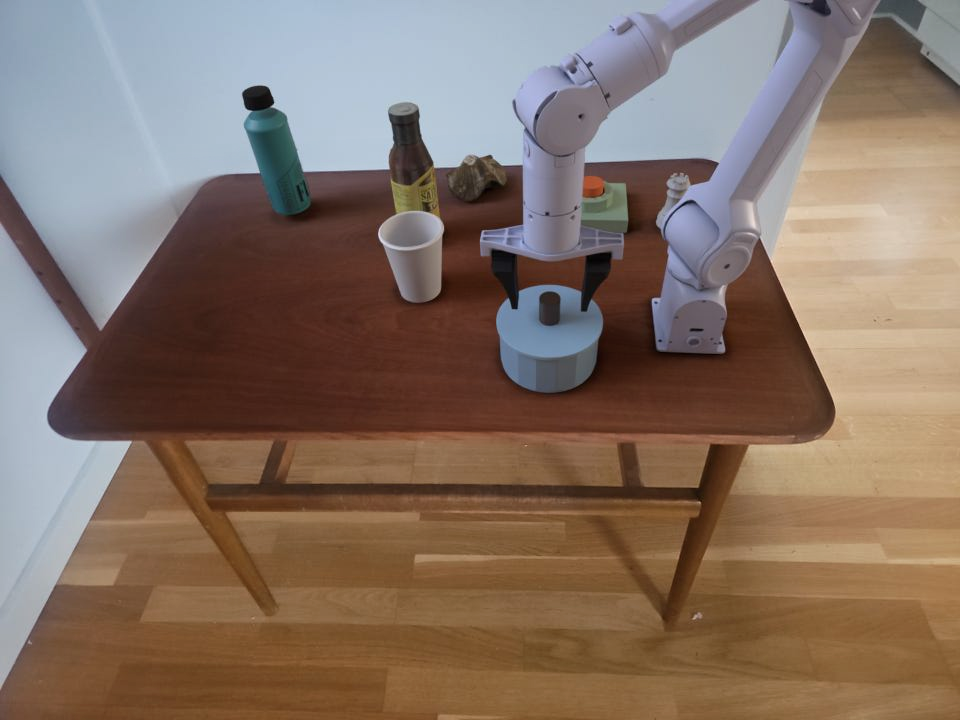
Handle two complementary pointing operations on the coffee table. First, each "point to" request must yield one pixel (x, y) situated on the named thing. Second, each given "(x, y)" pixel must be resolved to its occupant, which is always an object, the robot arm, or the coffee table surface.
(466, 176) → the fossilized seashell
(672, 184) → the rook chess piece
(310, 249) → the coffee table surface
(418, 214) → the dixie cup
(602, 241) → the robot arm
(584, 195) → the button
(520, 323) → the tin lid
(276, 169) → the beverage bottle
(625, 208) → the switch block
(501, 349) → the tin
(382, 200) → the coffee table surface
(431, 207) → the sauce bottle
